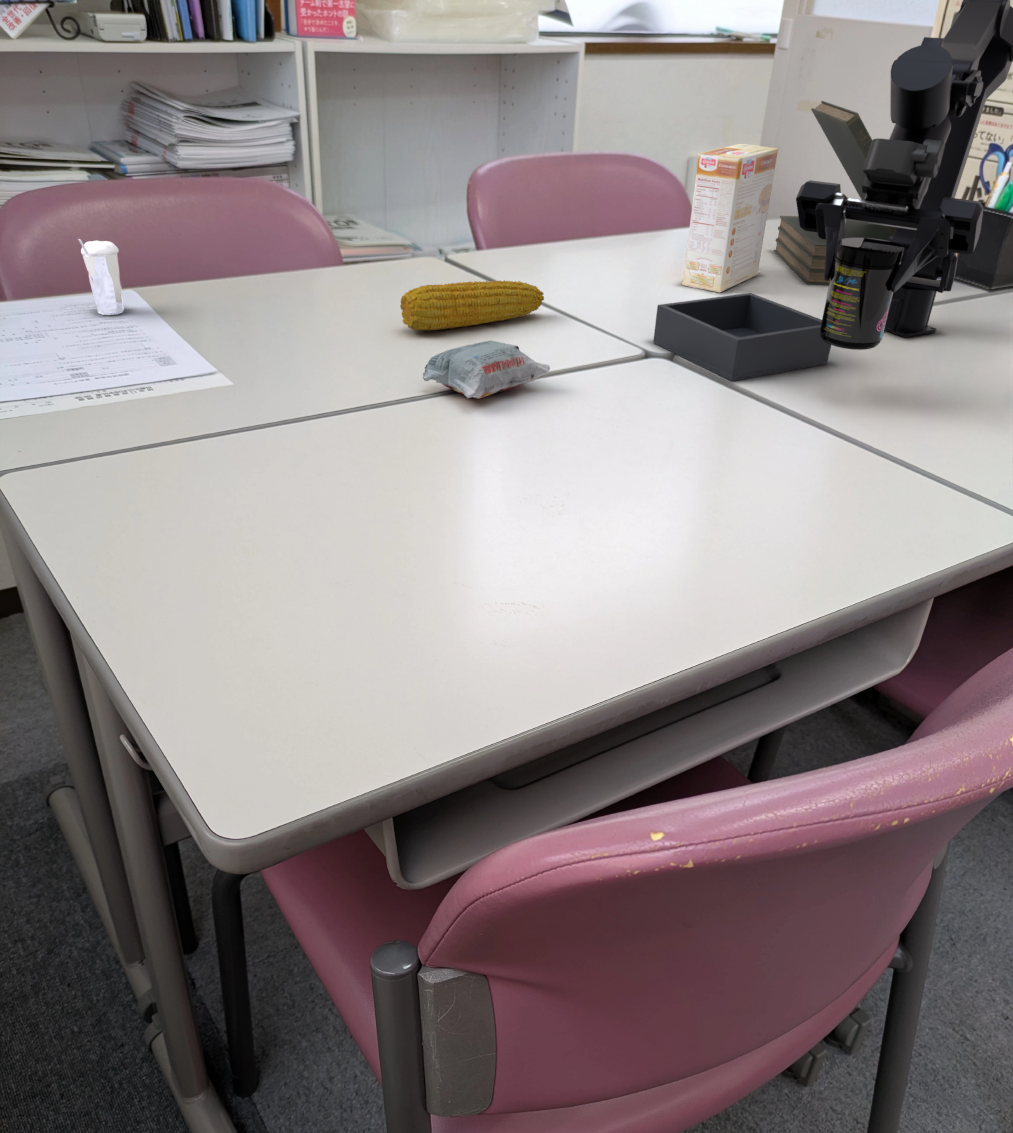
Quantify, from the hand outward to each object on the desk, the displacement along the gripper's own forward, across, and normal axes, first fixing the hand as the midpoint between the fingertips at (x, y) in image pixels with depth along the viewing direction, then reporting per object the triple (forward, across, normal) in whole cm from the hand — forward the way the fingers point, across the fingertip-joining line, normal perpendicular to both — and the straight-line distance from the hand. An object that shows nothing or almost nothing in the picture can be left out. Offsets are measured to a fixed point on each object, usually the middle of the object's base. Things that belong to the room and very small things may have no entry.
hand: (858, 283), depth 100 cm
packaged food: (+25, -33, -6) cm, 42 cm away
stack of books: (-36, -17, +56) cm, 69 cm away
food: (+11, -48, +8) cm, 50 cm away
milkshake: (+30, -89, -11) cm, 95 cm away
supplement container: (+4, 0, +6) cm, 7 cm away
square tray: (+3, -15, +16) cm, 22 cm away
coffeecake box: (-21, -31, +40) cm, 55 cm away
